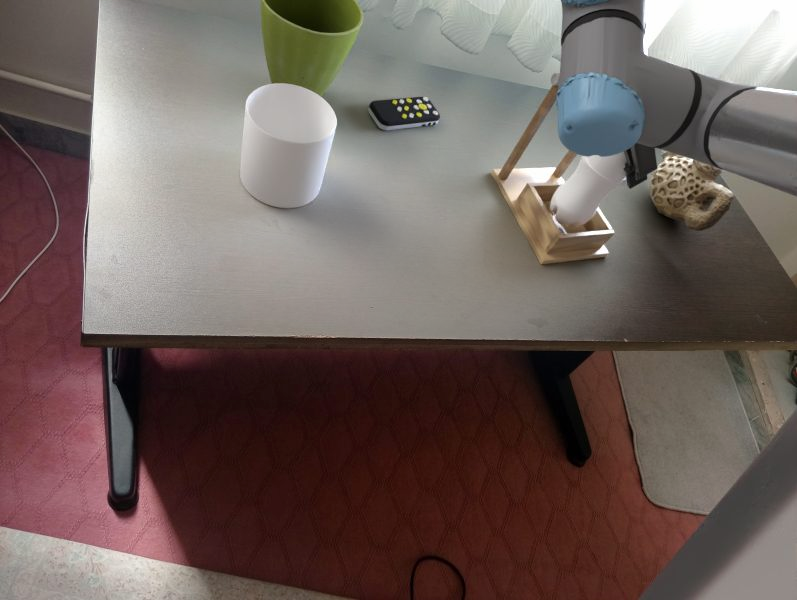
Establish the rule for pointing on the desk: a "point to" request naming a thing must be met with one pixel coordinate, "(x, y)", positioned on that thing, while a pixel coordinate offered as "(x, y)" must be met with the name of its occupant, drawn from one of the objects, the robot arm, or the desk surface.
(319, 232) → the desk surface
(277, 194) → the cup
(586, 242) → the rack
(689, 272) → the desk surface
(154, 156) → the desk surface
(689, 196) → the teapot
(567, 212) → the water bottle
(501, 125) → the desk surface
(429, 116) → the remote control
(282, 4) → the flower pot
